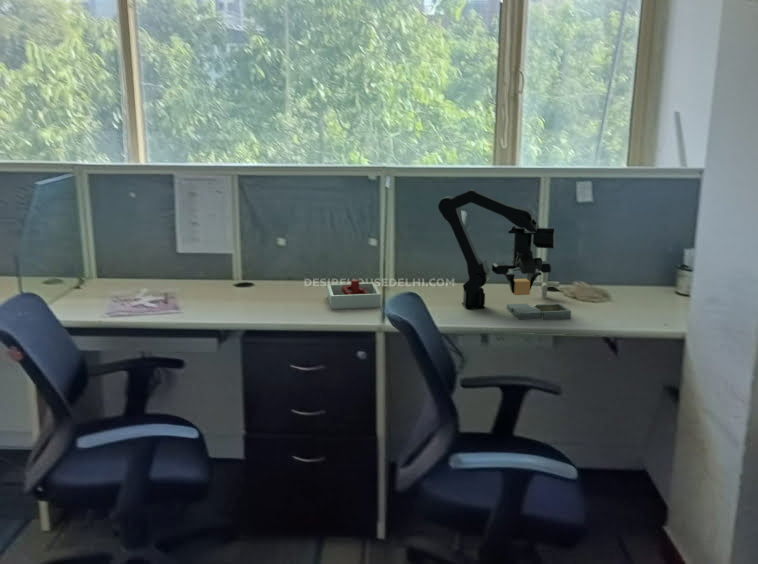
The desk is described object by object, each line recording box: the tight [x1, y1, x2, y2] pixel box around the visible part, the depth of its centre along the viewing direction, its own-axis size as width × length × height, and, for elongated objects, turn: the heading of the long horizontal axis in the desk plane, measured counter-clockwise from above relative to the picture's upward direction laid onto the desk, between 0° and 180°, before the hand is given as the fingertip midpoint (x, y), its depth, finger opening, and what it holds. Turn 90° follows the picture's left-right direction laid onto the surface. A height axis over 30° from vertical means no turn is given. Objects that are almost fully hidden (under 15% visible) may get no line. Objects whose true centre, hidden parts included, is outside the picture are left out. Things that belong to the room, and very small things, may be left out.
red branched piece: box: [342, 278, 368, 295], centre depth 257 cm, size 11×12×8 cm
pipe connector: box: [532, 272, 560, 299], centre depth 261 cm, size 10×10×10 cm
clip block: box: [512, 278, 531, 296], centre depth 245 cm, size 5×4×4 cm
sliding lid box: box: [512, 302, 572, 321], centre depth 241 cm, size 17×9×2 cm, turn 98°
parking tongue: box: [506, 303, 532, 314], centre depth 247 cm, size 7×5×2 cm
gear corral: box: [326, 282, 382, 310], centre depth 258 cm, size 17×16×4 cm
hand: (520, 292), depth 246 cm, fingers closed on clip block, 5 cm apart
